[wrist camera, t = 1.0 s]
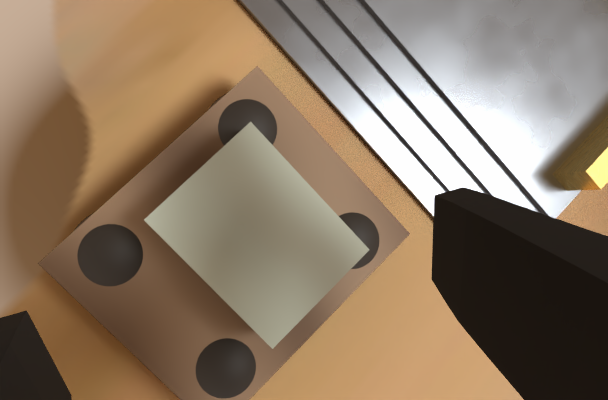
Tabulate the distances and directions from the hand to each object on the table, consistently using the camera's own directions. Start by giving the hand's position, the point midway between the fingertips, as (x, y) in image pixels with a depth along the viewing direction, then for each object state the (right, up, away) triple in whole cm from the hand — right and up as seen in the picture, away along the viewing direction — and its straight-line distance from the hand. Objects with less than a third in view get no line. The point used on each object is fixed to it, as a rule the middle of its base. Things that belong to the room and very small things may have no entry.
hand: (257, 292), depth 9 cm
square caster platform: (-2, 0, +12) cm, 12 cm away
